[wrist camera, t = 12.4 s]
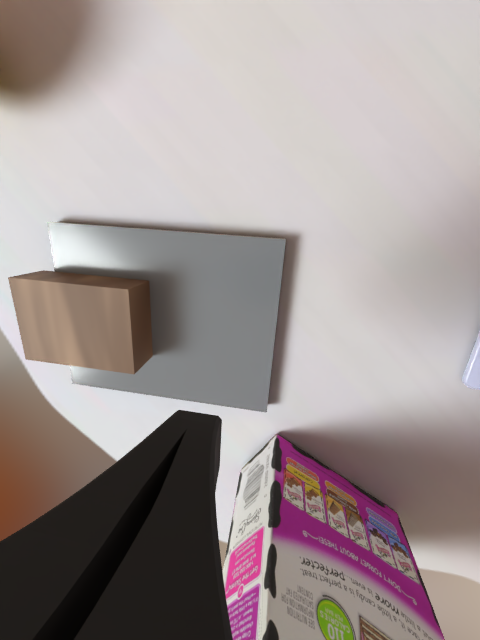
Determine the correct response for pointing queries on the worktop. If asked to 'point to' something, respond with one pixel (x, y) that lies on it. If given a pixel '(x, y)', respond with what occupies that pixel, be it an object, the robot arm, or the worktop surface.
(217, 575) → the robot arm
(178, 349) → the grey flat rectangular plate
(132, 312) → the walnut slab
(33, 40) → the worktop surface
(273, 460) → the candy bar box
